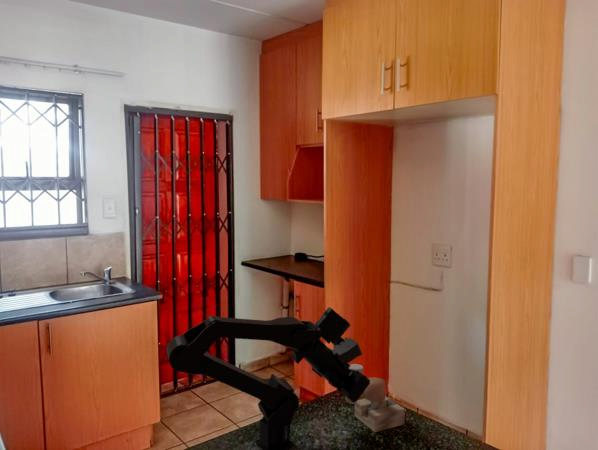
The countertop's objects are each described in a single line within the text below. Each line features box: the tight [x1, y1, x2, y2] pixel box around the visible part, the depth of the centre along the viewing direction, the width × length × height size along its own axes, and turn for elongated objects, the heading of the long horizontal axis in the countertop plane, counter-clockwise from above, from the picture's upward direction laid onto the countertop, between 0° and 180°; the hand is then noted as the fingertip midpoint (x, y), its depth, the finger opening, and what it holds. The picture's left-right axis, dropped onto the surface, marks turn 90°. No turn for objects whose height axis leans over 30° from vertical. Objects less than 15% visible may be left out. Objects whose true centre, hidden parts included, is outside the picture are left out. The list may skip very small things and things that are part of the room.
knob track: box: [354, 395, 406, 433], centre depth 119 cm, size 9×9×4 cm
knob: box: [365, 376, 387, 415], centre depth 118 cm, size 5×5×9 cm
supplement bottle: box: [344, 363, 366, 405], centre depth 130 cm, size 5×5×10 cm
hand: (359, 393), depth 116 cm, fingers closed
